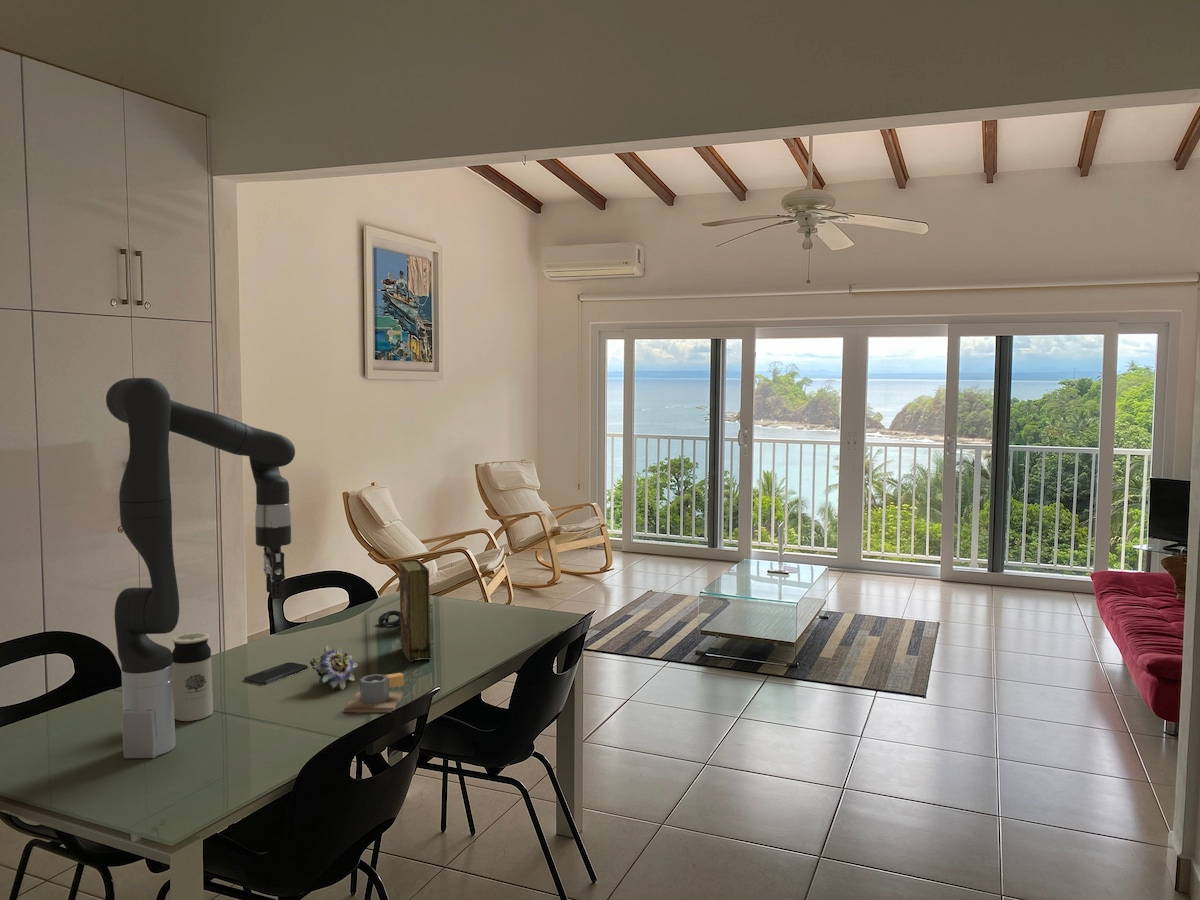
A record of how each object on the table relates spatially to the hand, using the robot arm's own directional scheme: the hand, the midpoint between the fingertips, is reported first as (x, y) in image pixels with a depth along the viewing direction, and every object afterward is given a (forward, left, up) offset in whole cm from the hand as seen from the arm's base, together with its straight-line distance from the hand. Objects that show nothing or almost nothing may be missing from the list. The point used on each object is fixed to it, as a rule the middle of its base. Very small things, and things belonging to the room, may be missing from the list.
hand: (274, 595), depth 201 cm
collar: (+5, -23, -26) cm, 35 cm away
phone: (+26, +10, -27) cm, 39 cm away
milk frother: (+72, -13, -27) cm, 78 cm away
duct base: (+4, -21, -27) cm, 34 cm away
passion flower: (+17, -7, -27) cm, 33 cm away
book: (+43, -22, -27) cm, 55 cm away
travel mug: (-3, +18, -27) cm, 32 cm away
